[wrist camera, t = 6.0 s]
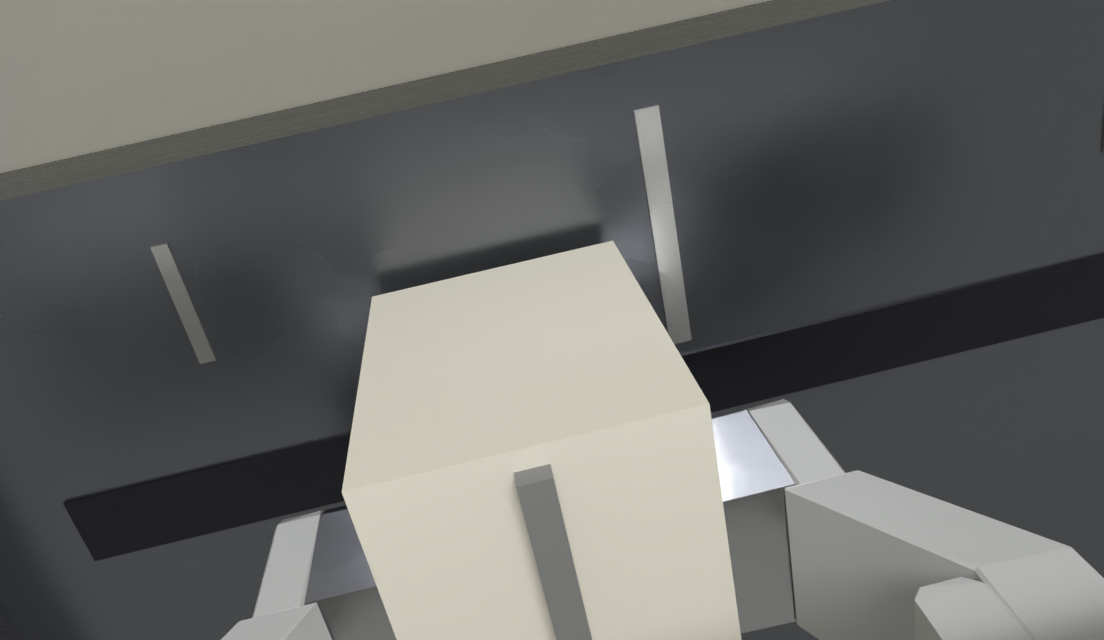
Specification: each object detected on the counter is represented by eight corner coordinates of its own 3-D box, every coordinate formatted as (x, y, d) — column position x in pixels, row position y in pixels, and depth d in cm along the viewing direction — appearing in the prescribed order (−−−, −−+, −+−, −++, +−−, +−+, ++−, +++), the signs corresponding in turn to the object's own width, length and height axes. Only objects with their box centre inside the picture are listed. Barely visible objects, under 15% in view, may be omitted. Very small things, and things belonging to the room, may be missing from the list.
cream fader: (612, 240, 10) (717, 417, 7) (668, 554, 13) (770, 822, 9) (371, 296, 10) (339, 507, 7) (469, 603, 13) (486, 896, 9)
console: (1424, -146, 12) (1730, -170, 9) (1242, 688, 20) (1383, 819, 17) (-272, 234, 11) (-510, 338, 8) (200, 957, 19) (158, 1144, 16)
